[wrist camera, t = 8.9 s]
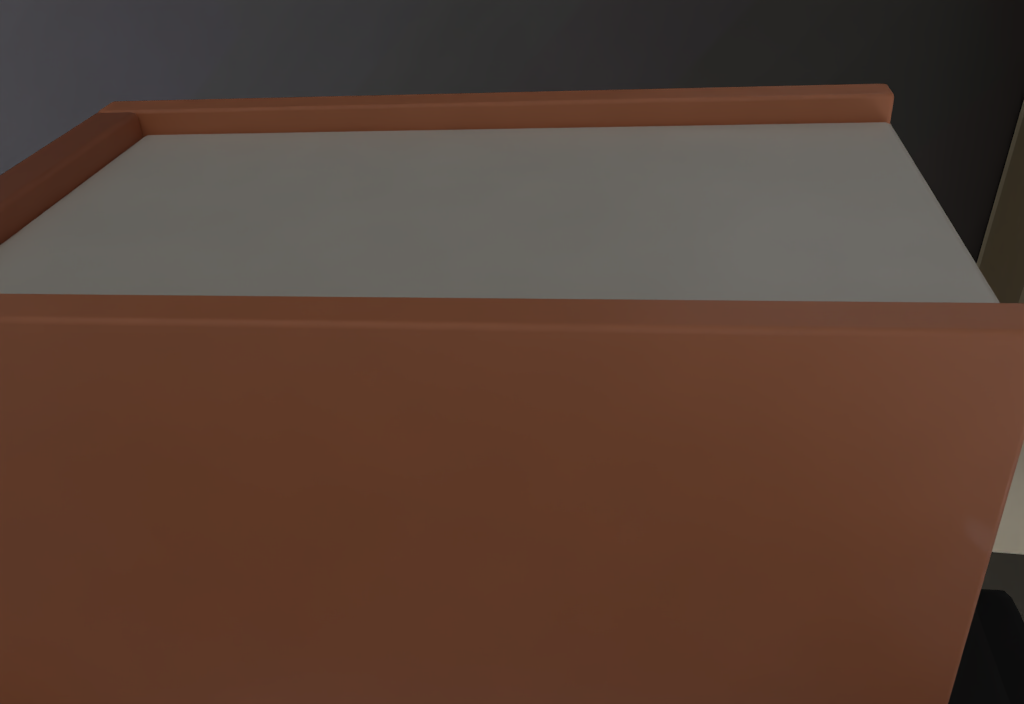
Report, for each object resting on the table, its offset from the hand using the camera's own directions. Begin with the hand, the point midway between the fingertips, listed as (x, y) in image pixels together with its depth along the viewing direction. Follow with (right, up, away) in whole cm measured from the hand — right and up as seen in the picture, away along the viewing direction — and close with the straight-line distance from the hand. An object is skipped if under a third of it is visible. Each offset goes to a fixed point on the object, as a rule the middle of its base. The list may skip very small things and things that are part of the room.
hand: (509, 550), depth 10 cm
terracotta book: (0, 0, 0) cm, 0 cm away
